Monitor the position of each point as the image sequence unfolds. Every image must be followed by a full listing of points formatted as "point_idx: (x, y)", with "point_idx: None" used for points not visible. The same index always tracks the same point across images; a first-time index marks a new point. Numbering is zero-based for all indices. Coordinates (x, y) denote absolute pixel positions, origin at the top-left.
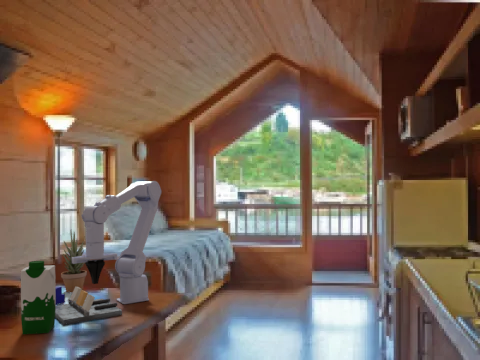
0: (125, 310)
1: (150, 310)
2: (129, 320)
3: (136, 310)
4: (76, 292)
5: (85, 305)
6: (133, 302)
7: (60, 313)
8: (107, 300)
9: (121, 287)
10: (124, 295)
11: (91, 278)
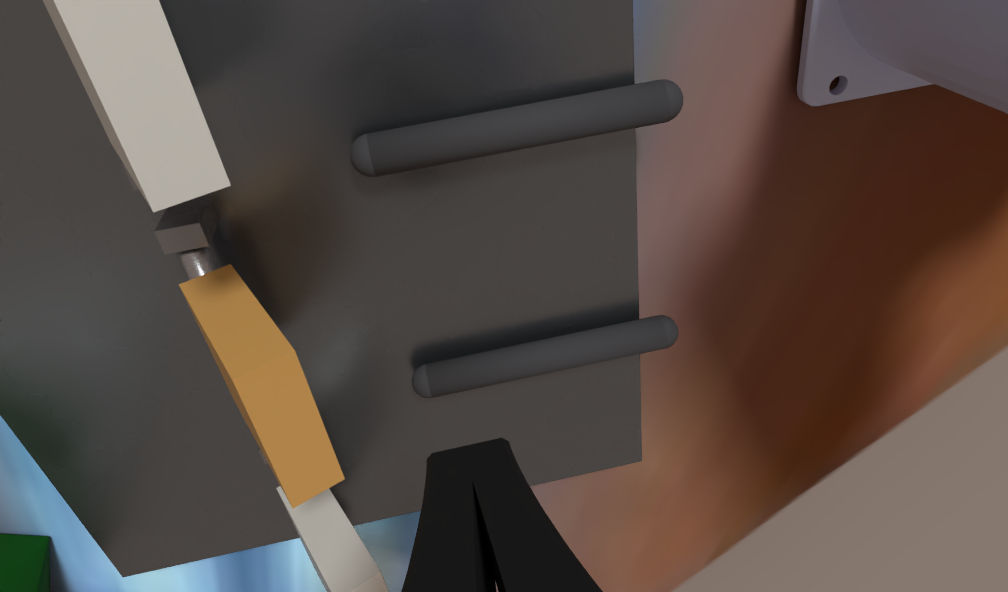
0: (706, 318)
1: (867, 388)
2: (624, 550)
3: (782, 351)
4: (133, 179)
5: (310, 557)
6: (914, 84)
7: (31, 396)
8: (628, 127)
9: (981, 8)
10: (901, 49)
11: (422, 528)
